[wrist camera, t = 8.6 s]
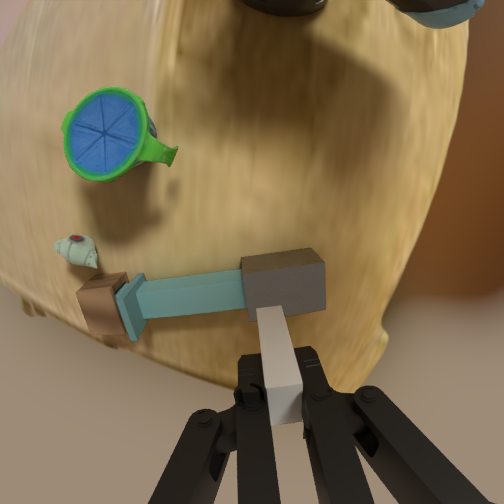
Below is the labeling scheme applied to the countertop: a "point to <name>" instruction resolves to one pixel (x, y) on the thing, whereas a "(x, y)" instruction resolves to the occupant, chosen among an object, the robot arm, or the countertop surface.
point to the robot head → (77, 250)
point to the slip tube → (178, 297)
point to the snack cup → (111, 135)
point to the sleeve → (285, 282)
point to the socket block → (102, 304)
